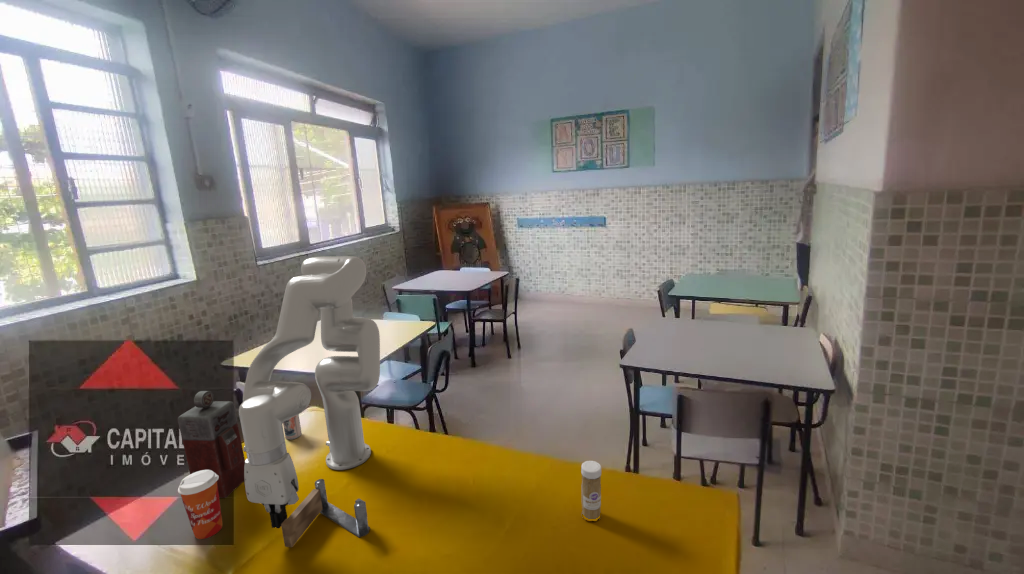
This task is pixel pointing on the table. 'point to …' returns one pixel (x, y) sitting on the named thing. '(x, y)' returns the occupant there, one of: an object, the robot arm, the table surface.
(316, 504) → the gate
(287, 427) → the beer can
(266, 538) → the table surface
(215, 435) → the vintage gas pump
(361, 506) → the gate posts
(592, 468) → the sprinkles bottle
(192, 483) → the paper cup
